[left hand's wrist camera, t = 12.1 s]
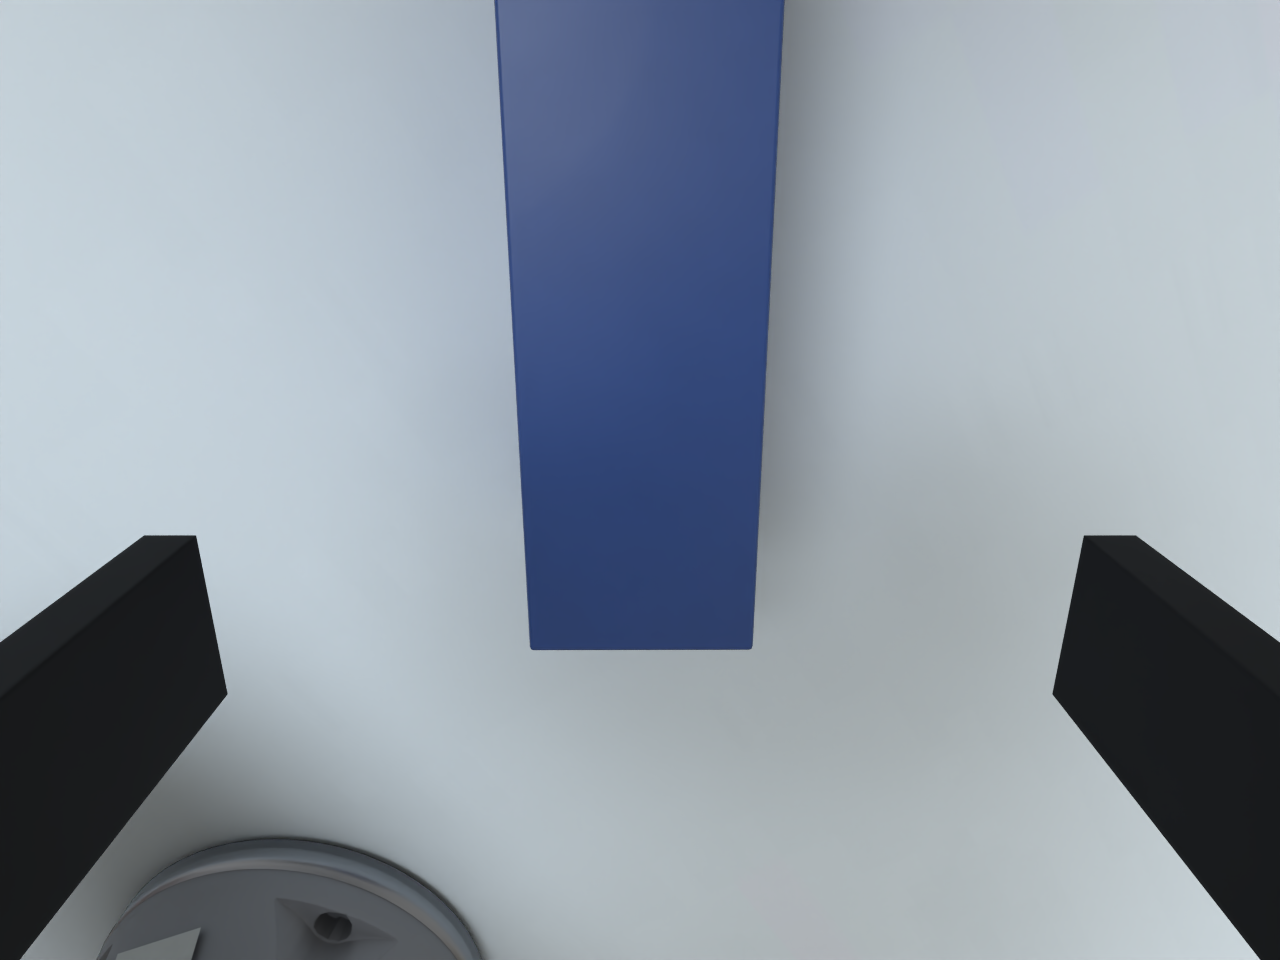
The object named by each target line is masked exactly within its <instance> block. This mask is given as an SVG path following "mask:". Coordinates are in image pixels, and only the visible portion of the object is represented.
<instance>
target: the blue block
mask: <svg viewBox="0 0 1280 960" xmlns="http://www.w3.org/2000/svg"><path fill="white" fill-rule="evenodd" d="M494 1H495V19H496V38H497V56H498V74H499V92H500V110H501V128H502V147H503V165H504V183H505V201H506V219H507V237H508V255H509V274H510V292H511V310H512V328H513V346H514V364H515V382H516V401H517V419H518V437H519V455H520V473H521V491H522V509H523V528H524V546H525V564H526V582H527V600H528V618H529V636H530V647H531V649H532V650H749V649H751V648H752V646H753V628H754V608H755V588H756V567H757V547H758V527H759V507H760V487H761V466H762V446H763V426H764V406H765V385H766V365H767V345H768V325H769V305H770V284H771V264H772V244H773V224H774V203H775V183H776V163H777V143H778V122H779V102H780V82H781V62H782V42H783V21H784V1H785V0H494Z"/></svg>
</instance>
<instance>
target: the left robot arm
mask: <svg viewBox="0 0 1280 960" xmlns="http://www.w3.org/2000/svg"><path fill="white" fill-rule="evenodd" d="M226 695H227V689H226V684H225V679H224V674H223V669H222V664H221V659H220V654H219V649H218V644H217V639H216V634H215V629H214V624H213V619H212V614H211V608H210V603H209V598H208V593H207V588H206V583H205V578H204V573H203V568H202V563H201V558H200V553H199V548H198V543H197V538H196V536H143V537H142V538H140V539H139V540H137V541H136V542H135V543H133V544H132V545H131V546H129V547H128V548H127V549H125V550H124V551H123V552H121V553H120V554H119V555H117V556H116V557H115V558H113V559H112V560H111V561H109V562H108V563H107V564H105V565H104V566H102V567H101V568H100V569H98V570H97V571H96V572H94V573H93V574H92V575H90V576H89V577H88V578H86V579H85V580H84V581H82V582H81V583H80V584H78V585H77V586H76V587H74V588H73V589H72V590H70V591H69V592H67V593H66V594H65V595H63V596H62V597H61V598H59V599H58V600H57V601H55V602H54V603H53V604H51V605H50V606H49V607H47V608H46V609H45V610H43V611H42V612H41V613H39V614H38V615H37V616H35V617H34V618H32V619H31V620H30V621H28V622H27V623H26V624H24V625H23V626H22V627H20V628H19V629H18V630H16V631H15V632H14V633H12V634H11V635H10V636H8V637H7V638H6V639H4V640H3V641H2V642H0V960H20V959H21V957H22V956H23V955H24V953H25V952H26V951H27V950H28V948H29V947H30V946H31V944H32V943H33V942H34V941H35V939H36V938H37V937H38V936H39V934H40V933H41V932H42V930H43V929H44V928H45V927H46V925H47V924H48V923H49V921H50V920H51V919H52V918H53V916H54V915H55V914H56V913H57V911H58V910H59V909H60V907H61V906H62V905H63V904H64V902H65V901H66V900H67V899H68V897H69V896H70V895H71V893H72V892H73V891H74V890H75V888H76V887H77V886H78V884H79V883H80V882H81V881H82V879H83V878H84V877H85V876H86V874H87V873H88V872H89V870H90V869H91V868H92V867H93V865H94V864H95V863H96V861H97V860H98V859H99V858H100V856H101V855H102V854H103V853H104V851H105V850H106V849H107V847H108V846H109V845H110V844H111V842H112V841H113V840H114V838H115V837H116V836H117V835H118V833H119V832H120V831H121V830H122V828H123V827H124V826H125V824H126V823H127V822H128V821H129V819H130V818H131V817H132V815H133V814H134V813H135V812H136V810H137V809H138V808H139V807H140V805H141V804H142V803H143V801H144V800H145V799H146V798H147V796H148V795H149V794H150V792H151V791H152V790H153V789H154V787H155V786H156V785H157V784H158V782H159V781H160V780H161V778H162V777H163V776H164V775H165V773H166V772H167V771H168V770H169V768H170V767H171V766H172V764H173V763H174V762H175V761H176V759H177V758H178V757H179V755H180V754H181V753H182V752H183V750H184V749H185V748H186V747H187V745H188V744H189V743H190V741H191V740H192V739H193V738H194V736H195V735H196V734H197V732H198V731H199V730H200V729H201V727H202V726H203V725H204V724H205V722H206V721H207V720H208V718H209V717H210V716H211V715H212V713H213V712H214V711H215V709H216V708H217V707H218V706H219V704H220V703H221V702H222V701H223V699H224V698H225V697H226ZM1053 695H1054V697H1055V698H1056V699H1057V701H1058V702H1059V703H1060V704H1061V706H1062V707H1063V708H1064V709H1065V711H1066V712H1067V713H1068V715H1069V716H1070V717H1071V718H1072V720H1073V721H1074V722H1075V724H1076V725H1077V726H1078V727H1079V729H1080V730H1081V731H1082V732H1083V734H1084V735H1085V736H1086V738H1087V739H1088V740H1089V741H1090V743H1091V744H1092V745H1093V747H1094V748H1095V749H1096V750H1097V752H1098V753H1099V754H1100V755H1101V757H1102V758H1103V759H1104V761H1105V762H1106V763H1107V764H1108V766H1109V767H1110V768H1111V770H1112V771H1113V772H1114V773H1115V775H1116V776H1117V777H1118V778H1119V780H1120V781H1121V782H1122V784H1123V785H1124V786H1125V787H1126V789H1127V790H1128V791H1129V792H1130V794H1131V795H1132V796H1133V798H1134V799H1135V800H1136V801H1137V803H1138V804H1139V805H1140V807H1141V808H1142V809H1143V810H1144V812H1145V813H1146V814H1147V815H1148V817H1149V818H1150V819H1151V821H1152V822H1153V823H1154V824H1155V826H1156V827H1157V828H1158V830H1159V831H1160V832H1161V833H1162V835H1163V836H1164V837H1165V838H1166V840H1167V841H1168V842H1169V844H1170V845H1171V846H1172V847H1173V849H1174V850H1175V851H1176V853H1177V854H1178V855H1179V856H1180V858H1181V859H1182V860H1183V861H1184V863H1185V864H1186V865H1187V867H1188V868H1189V869H1190V870H1191V872H1192V873H1193V874H1194V876H1195V877H1196V878H1197V879H1198V881H1199V882H1200V883H1201V884H1202V886H1203V887H1204V888H1205V890H1206V891H1207V892H1208V893H1209V895H1210V896H1211V897H1212V899H1213V900H1214V901H1215V902H1216V904H1217V905H1218V906H1219V907H1220V909H1221V910H1222V911H1223V913H1224V914H1225V915H1226V916H1227V918H1228V919H1229V920H1230V921H1231V923H1232V924H1233V925H1234V927H1235V928H1236V929H1237V930H1238V932H1239V933H1240V934H1241V936H1242V937H1243V938H1244V939H1245V941H1246V942H1247V943H1248V944H1249V946H1250V947H1251V948H1252V950H1253V951H1254V952H1255V953H1256V955H1257V956H1258V957H1259V959H1260V960H1280V642H1278V641H1277V640H1276V639H1274V638H1273V637H1272V636H1270V635H1269V634H1268V633H1266V632H1265V631H1264V630H1262V629H1261V628H1260V627H1258V626H1257V625H1256V624H1254V623H1253V622H1252V621H1250V620H1249V619H1248V618H1246V617H1245V616H1243V615H1242V614H1241V613H1239V612H1238V611H1237V610H1235V609H1234V608H1233V607H1231V606H1230V605H1229V604H1227V603H1226V602H1225V601H1223V600H1222V599H1221V598H1219V597H1218V596H1217V595H1215V594H1214V593H1213V592H1211V591H1210V590H1208V589H1207V588H1206V587H1204V586H1203V585H1202V584H1200V583H1199V582H1198V581H1196V580H1195V579H1194V578H1192V577H1191V576H1190V575H1188V574H1187V573H1186V572H1184V571H1183V570H1182V569H1180V568H1179V567H1178V566H1176V565H1175V564H1173V563H1172V562H1171V561H1169V560H1168V559H1167V558H1165V557H1164V556H1163V555H1161V554H1160V553H1159V552H1157V551H1156V550H1155V549H1153V548H1152V547H1151V546H1149V545H1148V544H1147V543H1145V542H1144V541H1143V540H1141V539H1140V538H1138V537H1137V536H1084V538H1083V543H1082V548H1081V553H1080V558H1079V563H1078V568H1077V573H1076V578H1075V583H1074V588H1073V593H1072V598H1071V603H1070V608H1069V614H1068V619H1067V624H1066V629H1065V634H1064V639H1063V644H1062V649H1061V654H1060V659H1059V664H1058V669H1057V674H1056V679H1055V684H1054V689H1053ZM97 960H482V959H481V957H480V954H479V951H478V949H477V947H476V945H475V943H474V941H473V939H472V937H471V936H470V934H469V933H468V931H467V930H466V928H465V926H464V925H463V924H462V923H461V921H460V920H459V919H458V918H457V916H456V915H455V914H454V913H453V912H452V911H451V910H450V909H449V908H448V907H447V906H446V904H445V903H444V902H443V901H441V900H440V899H439V898H438V897H437V896H436V895H434V894H433V893H432V892H431V891H430V890H428V889H427V888H426V887H424V886H423V885H421V884H420V883H419V882H417V881H416V880H414V879H413V878H411V877H409V876H408V875H406V874H404V873H403V872H401V871H399V870H397V869H395V868H393V867H391V866H389V865H387V864H385V863H383V862H381V861H379V860H376V859H374V858H371V857H369V856H366V855H364V854H360V853H357V852H354V851H351V850H348V849H344V848H340V847H336V846H332V845H327V844H322V843H315V842H309V841H300V840H288V839H264V840H250V841H243V842H236V843H230V844H225V845H221V846H217V847H213V848H210V849H207V850H204V851H201V852H198V853H195V854H193V855H191V856H189V857H186V858H184V859H182V860H180V861H178V862H176V863H175V864H173V865H171V866H169V867H168V868H166V869H165V870H163V871H162V872H161V873H159V874H158V875H157V876H155V877H154V878H153V879H151V880H150V881H149V882H148V883H147V884H146V885H145V886H144V887H143V888H142V889H141V890H140V892H139V893H138V894H137V895H136V896H135V898H134V899H133V900H132V902H131V903H130V905H129V906H128V907H127V909H126V910H125V912H124V913H123V915H122V916H121V917H120V919H119V920H118V922H117V923H116V925H115V926H114V928H113V929H112V931H111V932H110V934H109V936H108V937H107V939H106V940H105V942H104V944H103V947H102V949H101V951H100V954H99V956H98V958H97Z"/></svg>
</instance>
